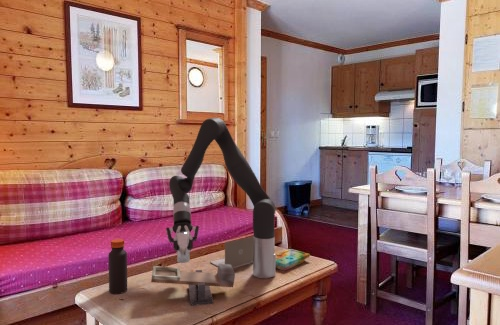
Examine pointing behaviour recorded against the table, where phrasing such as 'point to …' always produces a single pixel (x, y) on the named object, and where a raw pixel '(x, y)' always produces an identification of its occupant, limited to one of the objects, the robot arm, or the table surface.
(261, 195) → the robot arm
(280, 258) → the puzzle game
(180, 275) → the balance beam
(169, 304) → the table surface
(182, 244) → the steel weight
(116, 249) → the bottle
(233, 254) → the laptop
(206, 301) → the fulcrum stand
